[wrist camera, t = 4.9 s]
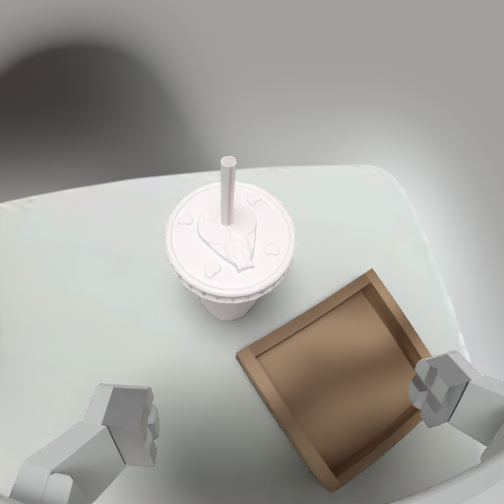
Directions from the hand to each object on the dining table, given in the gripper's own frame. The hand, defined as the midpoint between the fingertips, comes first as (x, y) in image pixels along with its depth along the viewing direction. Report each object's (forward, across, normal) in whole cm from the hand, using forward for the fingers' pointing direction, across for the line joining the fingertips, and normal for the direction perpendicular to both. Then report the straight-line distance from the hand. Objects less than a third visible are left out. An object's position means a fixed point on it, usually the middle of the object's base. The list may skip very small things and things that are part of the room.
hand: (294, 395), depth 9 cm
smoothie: (+15, +1, +4) cm, 16 cm away
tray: (+10, -7, +9) cm, 15 cm away
